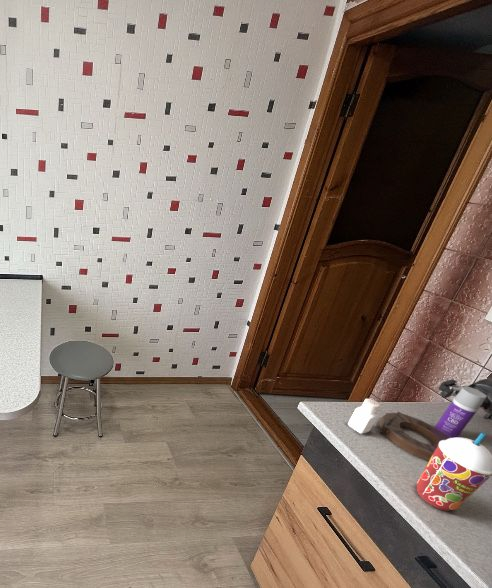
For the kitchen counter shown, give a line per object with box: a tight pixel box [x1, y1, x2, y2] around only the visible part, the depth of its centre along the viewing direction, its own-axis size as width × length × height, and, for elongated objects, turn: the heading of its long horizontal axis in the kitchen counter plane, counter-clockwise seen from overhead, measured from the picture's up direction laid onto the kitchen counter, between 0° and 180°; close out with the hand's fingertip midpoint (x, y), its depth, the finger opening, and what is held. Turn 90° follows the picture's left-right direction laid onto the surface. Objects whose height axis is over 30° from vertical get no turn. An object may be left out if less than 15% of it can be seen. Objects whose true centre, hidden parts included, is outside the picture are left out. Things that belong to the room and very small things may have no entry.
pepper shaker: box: [347, 398, 381, 435], centre depth 92 cm, size 4×4×10 cm
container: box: [434, 387, 487, 438], centre depth 92 cm, size 5×5×15 cm
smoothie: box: [416, 432, 492, 512], centre depth 71 cm, size 8×8×20 cm
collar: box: [378, 411, 449, 462], centre depth 91 cm, size 15×15×2 cm
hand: (465, 405), depth 91 cm, fingers open, 8 cm apart
